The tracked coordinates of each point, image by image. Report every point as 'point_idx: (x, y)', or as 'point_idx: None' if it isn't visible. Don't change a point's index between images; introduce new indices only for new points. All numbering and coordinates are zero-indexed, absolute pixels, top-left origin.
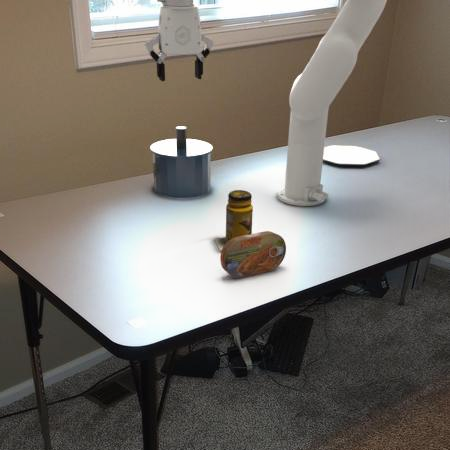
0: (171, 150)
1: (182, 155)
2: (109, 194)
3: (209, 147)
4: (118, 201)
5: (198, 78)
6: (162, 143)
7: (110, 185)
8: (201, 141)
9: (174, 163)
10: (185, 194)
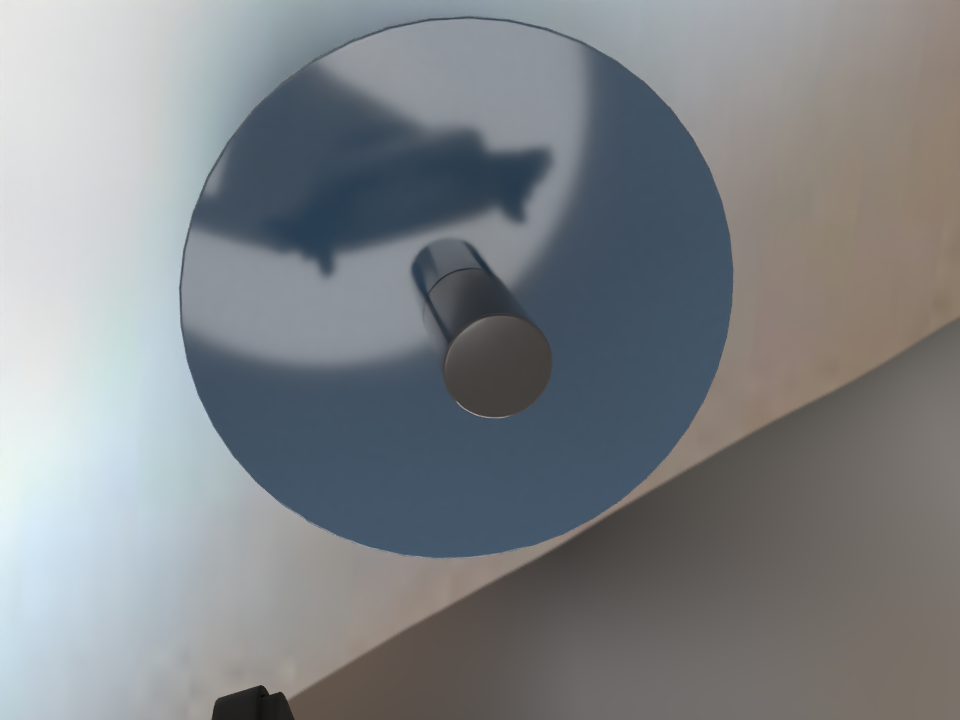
0: (565, 213)
1: (479, 46)
2: (876, 181)
3: (210, 298)
4: (841, 47)
5: (283, 699)
6: (621, 422)
7: (851, 340)
8: (281, 484)
9: None
10: None
